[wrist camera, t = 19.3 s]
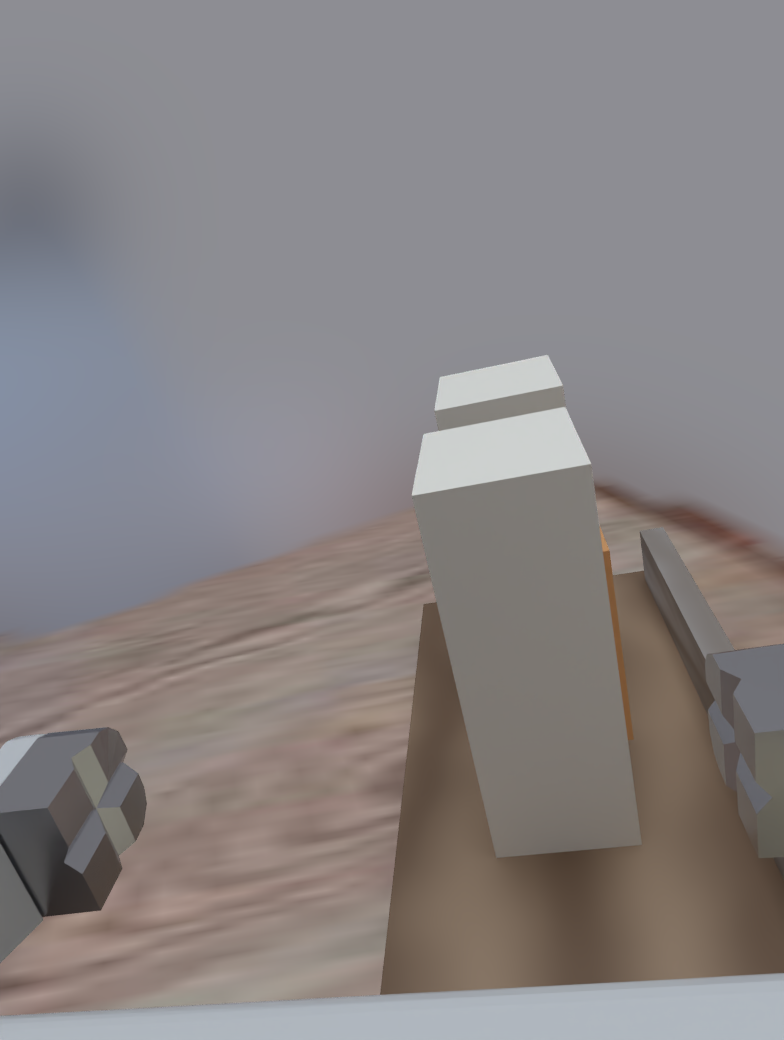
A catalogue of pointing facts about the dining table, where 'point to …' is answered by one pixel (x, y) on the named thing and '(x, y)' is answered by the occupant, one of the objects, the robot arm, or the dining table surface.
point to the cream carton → (531, 630)
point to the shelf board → (596, 872)
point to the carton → (498, 393)
